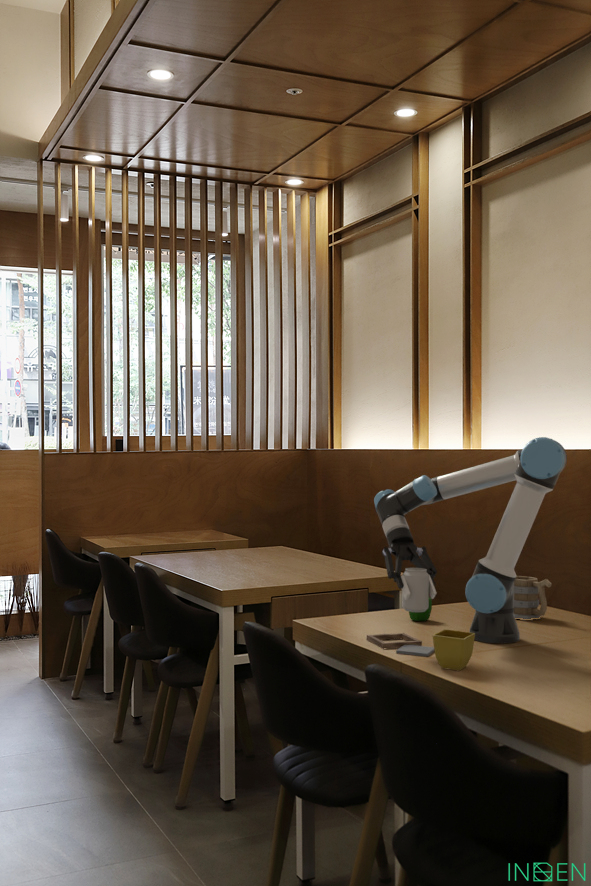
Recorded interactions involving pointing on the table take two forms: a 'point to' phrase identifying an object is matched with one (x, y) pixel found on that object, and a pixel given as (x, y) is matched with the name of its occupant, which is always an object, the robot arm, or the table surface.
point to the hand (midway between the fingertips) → (420, 596)
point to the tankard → (529, 597)
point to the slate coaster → (415, 650)
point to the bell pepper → (422, 613)
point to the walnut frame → (378, 637)
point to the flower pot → (453, 648)
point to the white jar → (416, 590)
